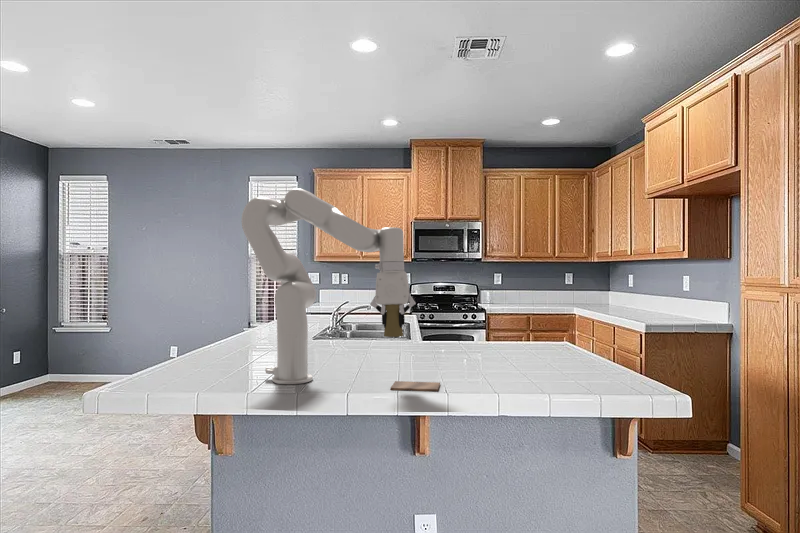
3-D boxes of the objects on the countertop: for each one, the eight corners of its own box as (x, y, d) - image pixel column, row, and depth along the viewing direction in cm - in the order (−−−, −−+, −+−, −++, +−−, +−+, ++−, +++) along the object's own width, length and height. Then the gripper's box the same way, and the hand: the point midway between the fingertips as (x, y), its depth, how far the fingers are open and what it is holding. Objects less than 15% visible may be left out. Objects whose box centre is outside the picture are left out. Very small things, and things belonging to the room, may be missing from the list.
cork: (404, 334, 166) (403, 299, 166) (402, 336, 160) (401, 300, 160) (385, 334, 166) (384, 299, 166) (382, 337, 160) (381, 300, 160)
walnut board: (390, 389, 156) (390, 387, 156) (395, 383, 165) (395, 381, 165) (437, 391, 154) (437, 389, 154) (440, 384, 163) (440, 382, 163)
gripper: (362, 268, 160) (364, 328, 160) (417, 267, 158) (419, 328, 158) (367, 268, 168) (369, 326, 168) (420, 267, 166) (421, 325, 166)
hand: (393, 326), depth 163 cm, fingers closed on cork, 4 cm apart
